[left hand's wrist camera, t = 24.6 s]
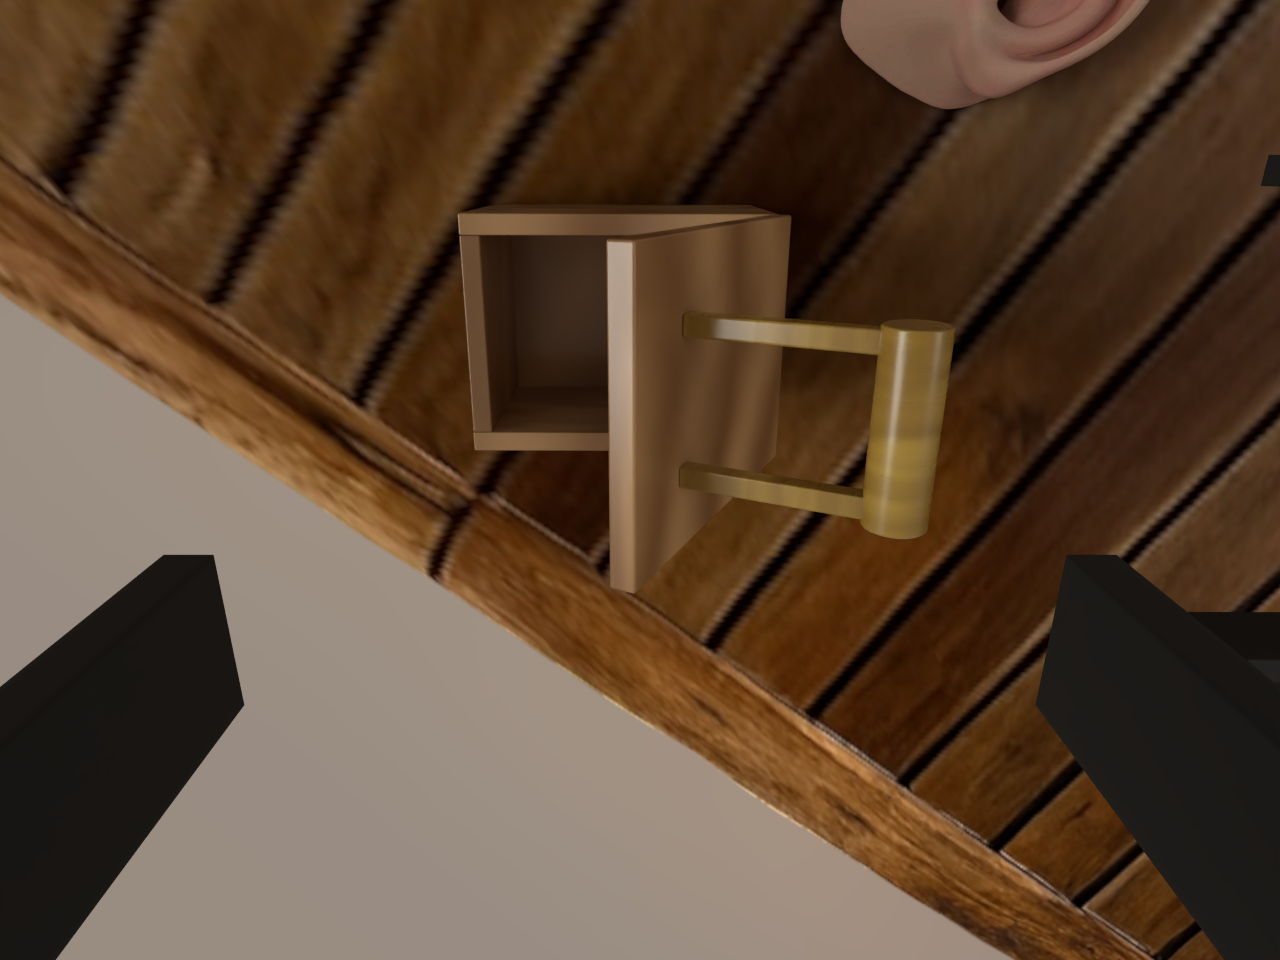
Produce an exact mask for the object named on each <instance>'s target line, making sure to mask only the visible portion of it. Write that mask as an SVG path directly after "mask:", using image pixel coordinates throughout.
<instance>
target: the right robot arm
mask: <svg viewBox="0 0 1280 960" xmlns="http://www.w3.org/2000/svg"><path fill="white" fill-rule="evenodd" d="M1261 186H1280V155H1269V156H1268V160H1267V164H1266V168H1265V172H1264V176H1263V180H1262V184H1261ZM1188 613H1189V614H1190V615H1191V616H1193V617H1194V618H1195V619H1196V620H1197V621H1199V622H1200V623H1201V624H1202V625H1204V626H1205V627H1206V628H1207V629H1209V630H1210V631H1211V632H1212V633H1214V634H1215V635H1216V636H1217V637H1219V638H1220V639H1221V640H1222V641H1223V642H1225V643H1226V644H1227V645H1228V646H1230V647H1231V648H1232V649H1233V650H1235V651H1236V652H1237V653H1238V654H1240V655H1241V656H1242V657H1243V658H1245V659H1246V660H1247V661H1248V662H1249V663H1251V664H1252V665H1253V666H1254V667H1256V668H1257V669H1258V670H1259V671H1261V672H1262V673H1263V674H1264V675H1266V676H1267V677H1268V678H1269V679H1271V680H1272V681H1273V682H1274V683H1275V684H1277V685H1278V686H1279V687H1280V612H1188Z"/></svg>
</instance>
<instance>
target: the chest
mask: <svg viewBox="0 0 1280 960" xmlns="http://www.w3.org/2000/svg"><path fill="white" fill-rule="evenodd" d="M766 215H779V214H776V213H773V212H770V211H767V210H763V209H760V208H757V207H754V206H751V205H510V204H496V205H492V206H488V207H483V208H479V209H475V210H471V211H467V212H462V213H459V214H458V225H459V234H460V237H459V238H460V252H461V266H462V279H463V293H464V307H465V321H466V334H467V348H468V362H469V375H470V389H471V403H472V416H473V430H474V445H475V450H604V451H609V427H608V342H607V257H606V242H607V239H610V238H617V237H624V236H630V235H637V234H644V233H651V232H658V231H664V230H671V229H678V228H685V227H692V226H698V225H705V224H712V223H719V222H726V221H732V220H739V219H746V218H753V217H760V216H766Z"/></svg>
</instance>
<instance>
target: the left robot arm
mask: <svg viewBox="0 0 1280 960" xmlns="http://www.w3.org/2000/svg"><path fill="white" fill-rule="evenodd" d="M243 706H244V701H243V697H242V692H241V687H240V682H239V677H238V672H237V668H236V662H235V658H234V653H233V648H232V643H231V638H230V633H229V628H228V624H227V619H226V614H225V609H224V604H223V599H222V594H221V589H220V585H219V580H218V575H217V570H216V565H215V560H214V556H213V555H163V556H162V557H161V558H159V559H158V560H157V561H156V562H154V563H153V564H152V565H151V566H149V567H148V568H147V569H146V570H144V571H143V572H142V573H141V574H139V575H138V576H137V577H136V578H135V579H133V580H132V581H131V582H130V583H128V584H127V585H126V586H125V587H123V588H122V589H121V590H120V591H118V592H117V593H116V594H115V595H113V596H112V597H111V598H110V599H109V600H107V601H106V602H105V603H104V604H102V605H101V606H100V607H99V608H97V609H96V610H95V611H94V612H92V613H91V614H90V615H89V616H87V617H86V618H85V619H84V620H83V621H81V622H80V623H79V624H78V625H76V626H75V627H74V628H73V629H71V630H70V631H69V632H68V633H66V634H65V635H64V636H63V637H62V638H60V639H59V640H58V641H57V642H55V643H54V644H53V645H52V646H50V647H49V648H48V649H47V650H45V651H44V652H43V653H42V654H40V655H39V656H38V657H37V658H36V659H34V660H33V661H32V662H31V663H29V664H28V665H27V666H26V667H24V668H23V669H22V670H21V671H19V672H18V673H17V674H16V675H14V676H13V677H12V678H11V679H9V680H8V681H7V682H6V683H5V684H3V685H2V686H1V687H0V960H56V959H57V957H58V956H59V955H60V953H61V952H62V951H63V949H64V948H65V947H66V945H67V944H68V942H69V941H70V940H71V938H72V937H73V936H74V934H75V933H76V932H77V930H78V929H79V928H80V926H81V925H82V924H83V922H84V921H85V919H86V918H87V917H88V915H89V914H90V913H91V911H92V910H93V909H94V907H95V906H96V905H97V903H98V902H99V901H100V899H101V898H102V897H103V895H104V894H105V892H106V891H107V890H108V888H109V887H110V886H111V884H112V883H113V882H114V880H115V879H116V878H117V876H118V875H119V874H120V872H121V871H122V870H123V868H124V867H125V865H126V864H127V863H128V861H129V860H130V859H131V857H132V856H133V855H134V853H135V852H136V851H137V849H138V848H139V847H140V845H141V844H142V842H143V841H144V840H145V838H146V837H147V836H148V834H149V833H150V832H151V830H152V829H153V828H154V826H155V825H156V824H157V822H158V821H159V820H160V818H161V817H162V815H163V814H164V813H165V811H166V810H167V809H168V807H169V806H170V805H171V803H172V802H173V801H174V799H175V798H176V797H177V795H178V794H179V792H180V791H181V790H182V788H183V787H184V786H185V784H186V783H187V782H188V780H189V779H190V778H191V776H192V775H193V774H194V772H195V771H196V770H197V768H198V767H199V765H200V764H201V763H202V761H203V760H204V759H205V757H206V756H207V755H208V753H209V752H210V751H211V749H212V748H213V747H214V745H215V744H216V742H217V741H218V740H219V738H220V737H221V736H222V734H223V733H224V732H225V730H226V729H227V728H228V726H229V725H230V724H231V722H232V721H233V719H234V718H235V717H236V715H237V714H238V713H239V711H240V710H241V709H242V707H243ZM1036 706H1037V707H1038V709H1039V710H1040V711H1041V713H1042V714H1043V715H1044V717H1045V718H1046V720H1047V721H1048V722H1049V724H1050V725H1051V726H1052V728H1053V729H1054V730H1055V732H1056V733H1057V734H1058V736H1059V737H1060V738H1061V740H1062V741H1063V742H1064V744H1065V745H1066V747H1067V748H1068V749H1069V751H1070V752H1071V753H1072V755H1073V756H1074V757H1075V759H1076V760H1077V761H1078V763H1079V764H1080V765H1081V767H1082V768H1083V770H1084V771H1085V772H1086V774H1087V775H1088V776H1089V778H1090V779H1091V780H1092V782H1093V783H1094V784H1095V786H1096V787H1097V788H1098V790H1099V791H1100V792H1101V794H1102V795H1103V797H1104V798H1105V799H1106V801H1107V802H1108V803H1109V805H1110V806H1111V807H1112V809H1113V810H1114V811H1115V813H1116V814H1117V815H1118V817H1119V818H1120V820H1121V821H1122V822H1123V824H1124V825H1125V826H1126V828H1127V829H1128V830H1129V832H1130V833H1131V834H1132V836H1133V837H1134V838H1135V840H1136V841H1137V842H1138V844H1139V845H1140V847H1141V848H1142V849H1143V851H1144V852H1145V853H1146V855H1147V856H1148V857H1149V859H1150V860H1151V861H1152V863H1153V864H1154V865H1155V867H1156V868H1157V870H1158V871H1159V872H1160V874H1161V875H1162V876H1163V878H1164V879H1165V880H1166V882H1167V883H1168V884H1169V886H1170V887H1171V888H1172V890H1173V891H1174V892H1175V894H1176V895H1177V897H1178V898H1179V899H1180V901H1181V902H1182V903H1183V905H1184V906H1185V907H1186V909H1187V910H1188V911H1189V913H1190V914H1191V915H1192V917H1193V918H1194V920H1195V921H1196V922H1197V924H1198V925H1199V926H1200V928H1201V929H1202V930H1203V932H1204V933H1205V934H1206V936H1207V937H1208V938H1209V940H1210V941H1211V942H1212V944H1213V945H1214V947H1215V948H1216V949H1217V951H1218V952H1219V953H1220V955H1221V956H1222V957H1223V959H1224V960H1280V687H1279V686H1278V685H1277V684H1275V683H1274V682H1273V681H1272V680H1271V679H1269V678H1268V677H1267V676H1266V675H1264V674H1263V673H1262V672H1261V671H1259V670H1258V669H1257V668H1256V667H1254V666H1253V665H1252V664H1251V663H1249V662H1248V661H1247V660H1246V659H1245V658H1243V657H1242V656H1241V655H1240V654H1238V653H1237V652H1236V651H1235V650H1233V649H1232V648H1231V647H1230V646H1228V645H1227V644H1226V643H1225V642H1223V641H1222V640H1221V639H1220V638H1219V637H1217V636H1216V635H1215V634H1214V633H1212V632H1211V631H1210V630H1209V629H1207V628H1206V627H1205V626H1204V625H1202V624H1201V623H1200V622H1199V621H1197V620H1196V619H1195V618H1194V617H1193V616H1191V615H1190V614H1189V613H1188V612H1186V611H1185V610H1184V609H1183V608H1181V607H1180V606H1179V605H1178V604H1176V603H1175V602H1174V601H1173V600H1171V599H1170V598H1169V597H1168V596H1167V595H1165V594H1164V593H1163V592H1162V591H1160V590H1159V589H1158V588H1157V587H1155V586H1154V585H1153V584H1152V583H1150V582H1149V581H1148V580H1147V579H1145V578H1144V577H1143V576H1142V575H1141V574H1139V573H1138V572H1137V571H1136V570H1134V569H1133V568H1132V567H1131V566H1129V565H1128V564H1127V563H1126V562H1124V561H1123V560H1122V559H1121V558H1119V557H1118V556H1117V555H1066V560H1065V565H1064V570H1063V575H1062V580H1061V584H1060V589H1059V594H1058V599H1057V604H1056V609H1055V614H1054V619H1053V623H1052V628H1051V633H1050V638H1049V643H1048V648H1047V653H1046V658H1045V662H1044V667H1043V672H1042V677H1041V682H1040V687H1039V692H1038V697H1037V701H1036Z"/></svg>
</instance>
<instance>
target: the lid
mask: <svg viewBox="0 0 1280 960" xmlns="http://www.w3.org/2000/svg"><path fill="white" fill-rule="evenodd" d="M790 228H791V216H790V215H766V216H760V217H753V218H746V219H739V220H732V221H726V222H719V223H712V224H705V225H698V226H692V227H685V228H678V229H671V230H664V231H658V232H651V233H644V234H637V235H630V236H624V237H617V238H610V239H607V242H606V257H607V342H608V427H609V512H610V586H611V588H613V589H617V590H622V591H626V592H630V593H636V592H637V591H638V590H639V589H640V588H641V587H642V586H643V585H644V584H645V583H646V582H647V581H648V580H649V579H650V578H651V577H652V576H653V575H654V574H655V573H656V572H657V571H658V570H659V569H660V568H661V567H662V566H663V565H664V564H665V563H666V562H667V561H668V560H669V559H670V558H672V557H673V556H674V555H675V554H676V553H677V552H678V551H679V550H680V549H681V548H682V547H683V546H684V545H685V544H686V543H687V542H688V541H689V540H690V539H691V538H692V537H693V536H694V535H695V534H696V533H697V532H698V531H699V530H700V529H701V528H702V527H703V526H704V525H705V524H706V523H707V522H708V521H709V520H710V519H711V518H712V517H713V516H714V515H716V514H717V513H718V512H719V511H720V510H721V509H722V508H723V507H724V506H725V505H726V504H727V503H728V502H729V501H730V500H731V499H732V498H733V497H736V498H742V499H747V500H753V501H759V502H764V503H770V504H776V505H782V506H787V507H793V508H799V509H804V510H810V511H816V512H821V513H827V514H833V515H838V516H844V517H850V518H855V519H860V523H861V525H862V527H863V528H864V529H866V530H867V531H869V532H871V533H874V534H876V535H879V536H883V537H888V538H896V539H910V538H916V537H920V536H922V535H924V534H925V533H926V532H927V530H928V523H929V516H930V509H931V502H932V495H933V488H934V480H935V473H936V466H937V459H938V452H939V445H940V437H941V430H942V423H943V416H944V409H945V401H946V394H947V387H948V380H949V373H950V366H951V358H952V351H953V344H954V337H955V330H956V329H955V327H954V326H953V325H951V324H948V323H944V322H939V321H932V320H920V319H896V320H889V321H885V322H883V323H882V324H881V326H877V325H864V324H851V323H839V322H826V321H813V320H801V319H788V318H785V305H786V290H787V275H788V259H789V244H790ZM783 346H784V347H795V348H806V349H816V350H827V351H838V352H848V353H859V354H870V355H878V356H877V366H876V375H875V385H874V394H873V403H872V413H871V422H870V431H869V441H868V450H867V460H866V469H865V478H864V488H863V489H856V488H850V487H844V486H838V485H831V484H825V483H819V482H813V481H807V480H800V479H794V478H788V477H782V476H776V475H769V474H763V473H759V472H760V471H761V470H762V469H763V468H764V467H765V466H766V465H767V464H768V463H769V462H770V461H771V460H772V459H773V458H774V457H775V456H776V444H777V429H778V413H779V398H780V382H781V367H782V352H783Z"/></svg>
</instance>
